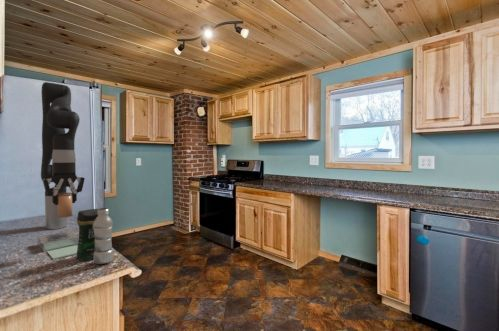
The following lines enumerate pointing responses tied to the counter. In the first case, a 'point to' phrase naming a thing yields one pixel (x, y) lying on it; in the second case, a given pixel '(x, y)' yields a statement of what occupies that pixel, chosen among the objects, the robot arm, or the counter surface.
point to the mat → (63, 252)
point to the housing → (57, 241)
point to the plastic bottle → (103, 237)
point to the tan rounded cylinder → (64, 205)
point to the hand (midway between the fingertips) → (64, 203)
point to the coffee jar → (86, 234)
